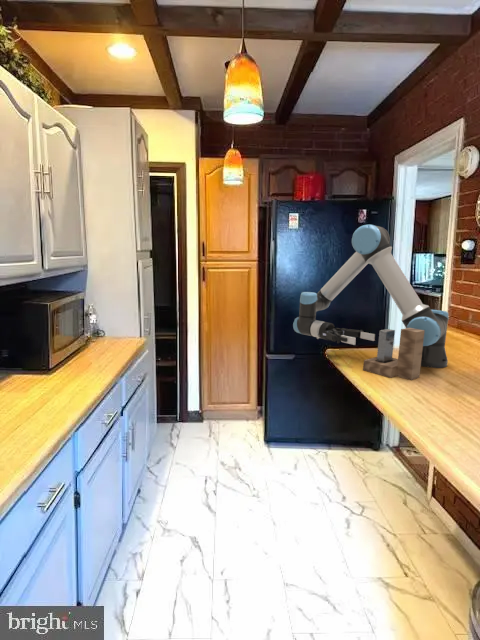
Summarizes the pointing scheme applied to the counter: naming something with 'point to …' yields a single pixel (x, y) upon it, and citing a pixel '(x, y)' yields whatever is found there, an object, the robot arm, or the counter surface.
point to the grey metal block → (385, 345)
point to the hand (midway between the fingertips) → (365, 339)
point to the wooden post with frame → (401, 357)
